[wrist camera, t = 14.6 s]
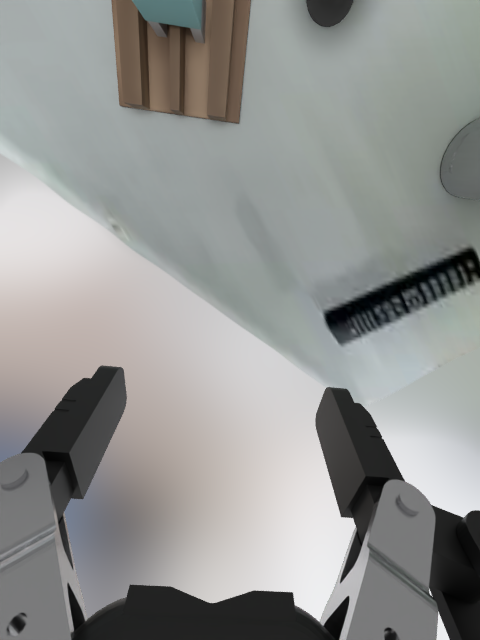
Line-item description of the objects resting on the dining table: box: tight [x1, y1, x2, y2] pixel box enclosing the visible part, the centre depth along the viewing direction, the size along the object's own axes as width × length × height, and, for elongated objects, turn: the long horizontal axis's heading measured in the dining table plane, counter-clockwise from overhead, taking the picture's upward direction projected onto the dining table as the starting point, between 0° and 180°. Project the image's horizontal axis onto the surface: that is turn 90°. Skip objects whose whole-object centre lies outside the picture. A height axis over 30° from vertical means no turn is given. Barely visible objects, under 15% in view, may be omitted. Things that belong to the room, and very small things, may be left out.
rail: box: [112, 0, 251, 124], centre depth 28 cm, size 14×16×4 cm
